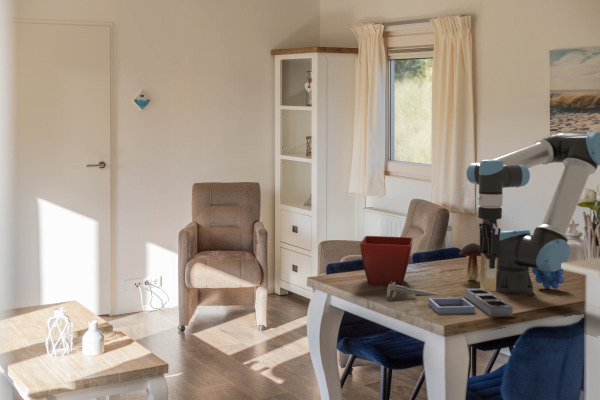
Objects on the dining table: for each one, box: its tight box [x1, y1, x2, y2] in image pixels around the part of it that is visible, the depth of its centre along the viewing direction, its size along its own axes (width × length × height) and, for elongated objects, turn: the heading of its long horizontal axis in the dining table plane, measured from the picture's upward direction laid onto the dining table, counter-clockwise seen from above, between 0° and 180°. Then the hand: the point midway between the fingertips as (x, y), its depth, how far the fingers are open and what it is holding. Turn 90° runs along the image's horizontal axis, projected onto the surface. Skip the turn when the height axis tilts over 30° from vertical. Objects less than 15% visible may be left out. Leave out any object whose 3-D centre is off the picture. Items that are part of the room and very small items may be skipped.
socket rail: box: [464, 288, 514, 318], centre depth 235 cm, size 26×7×4 cm, turn 5°
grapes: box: [531, 268, 565, 290], centre depth 264 cm, size 12×7×12 cm, turn 62°
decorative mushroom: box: [458, 242, 481, 281], centre depth 279 cm, size 11×11×15 cm
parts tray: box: [427, 297, 476, 315], centre depth 232 cm, size 12×12×3 cm
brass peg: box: [479, 253, 497, 292], centre depth 234 cm, size 4×4×12 cm
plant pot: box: [359, 235, 414, 287], centre depth 275 cm, size 19×19×17 cm
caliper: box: [386, 281, 441, 299], centre depth 251 cm, size 20×1×6 cm, turn 95°
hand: (488, 276), depth 234 cm, fingers closed on brass peg, 4 cm apart
